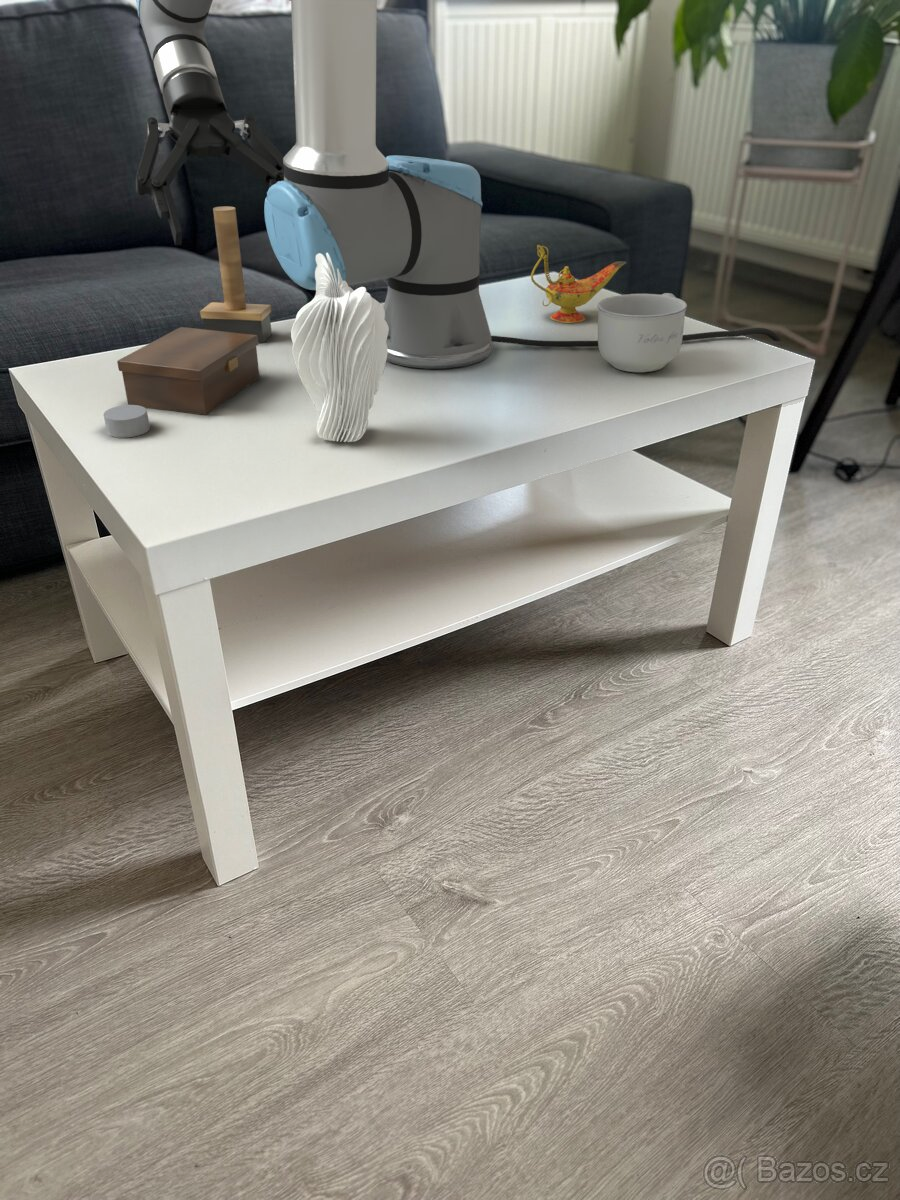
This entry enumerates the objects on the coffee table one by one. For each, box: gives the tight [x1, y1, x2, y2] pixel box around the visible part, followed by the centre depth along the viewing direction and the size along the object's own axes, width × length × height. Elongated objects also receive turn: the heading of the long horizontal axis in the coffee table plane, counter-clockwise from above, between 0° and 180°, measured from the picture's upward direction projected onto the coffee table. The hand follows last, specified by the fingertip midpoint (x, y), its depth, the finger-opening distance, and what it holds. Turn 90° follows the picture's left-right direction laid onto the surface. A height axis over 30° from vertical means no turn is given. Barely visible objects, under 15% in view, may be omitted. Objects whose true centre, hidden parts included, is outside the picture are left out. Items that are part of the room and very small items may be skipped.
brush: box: [199, 205, 272, 344], centre depth 122 cm, size 8×4×16 cm, turn 83°
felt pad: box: [103, 404, 151, 439], centre depth 99 cm, size 4×4×2 cm
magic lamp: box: [530, 244, 627, 324], centre depth 134 cm, size 7×18×11 cm, turn 125°
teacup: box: [597, 292, 688, 373], centre depth 117 cm, size 14×11×8 cm
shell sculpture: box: [290, 253, 389, 443], centre depth 93 cm, size 8×8×18 cm
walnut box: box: [116, 326, 260, 416], centre depth 108 cm, size 11×13×5 cm
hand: (233, 234), depth 118 cm, fingers open, 13 cm apart
